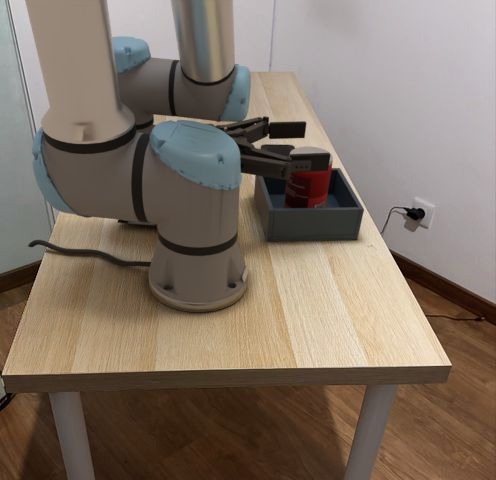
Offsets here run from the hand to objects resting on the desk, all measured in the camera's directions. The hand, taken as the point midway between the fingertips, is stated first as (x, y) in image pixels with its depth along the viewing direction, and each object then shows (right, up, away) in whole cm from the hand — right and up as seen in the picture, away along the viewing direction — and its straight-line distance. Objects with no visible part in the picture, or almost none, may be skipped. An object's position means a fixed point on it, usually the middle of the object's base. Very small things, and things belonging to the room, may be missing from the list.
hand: (316, 144), depth 91 cm
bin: (-1, -10, +10) cm, 14 cm away
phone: (-4, +6, +27) cm, 28 cm away
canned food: (-1, -9, +9) cm, 13 cm away
